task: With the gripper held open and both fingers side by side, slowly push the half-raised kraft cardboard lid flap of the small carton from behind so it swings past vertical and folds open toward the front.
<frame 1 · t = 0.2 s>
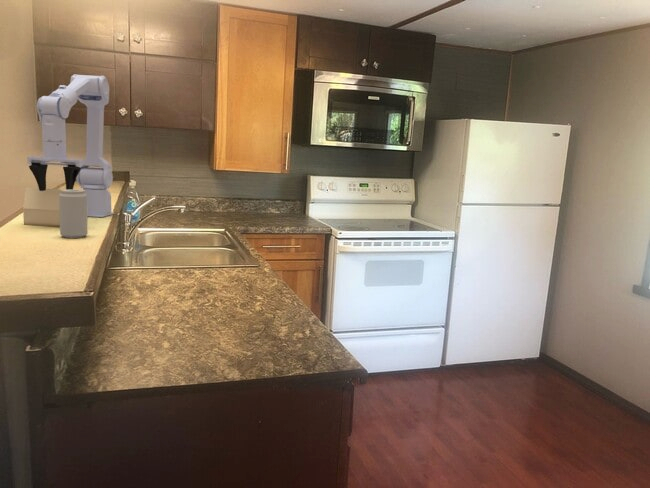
hand: (56, 191, 151), 10 cm above the countertop, fingers open, 7 cm apart
flap: (43, 199, 153), point 7 cm above the countertop, hinge at 72.0°
beverage can: (74, 237, 141), on the countertop
carton: (48, 224, 157), on the countertop
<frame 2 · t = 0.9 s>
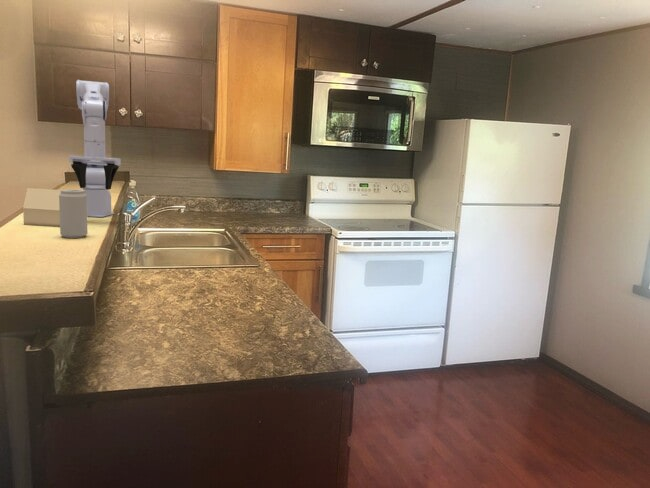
hand: (95, 188, 162), 10 cm above the countertop, fingers open, 7 cm apart
flap: (44, 199, 154), point 7 cm above the countertop, hinge at 65.3°
everything else where it was.
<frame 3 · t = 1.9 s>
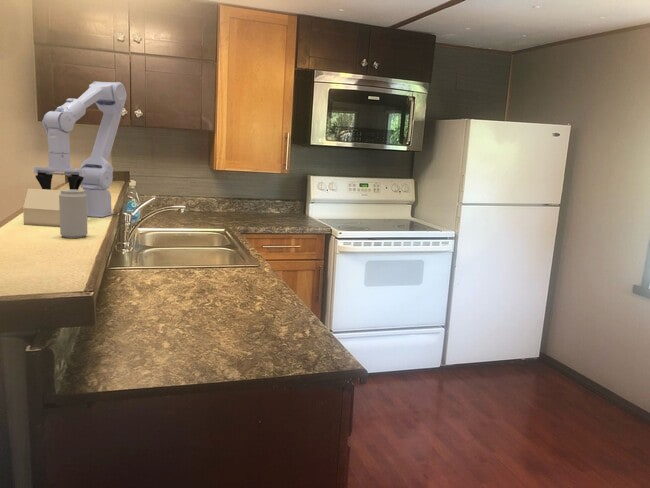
hand: (60, 199, 163), 7 cm above the countertop, fingers open, 7 cm apart
flap: (44, 199, 154), point 7 cm above the countertop, hinge at 62.1°
everything else where it was.
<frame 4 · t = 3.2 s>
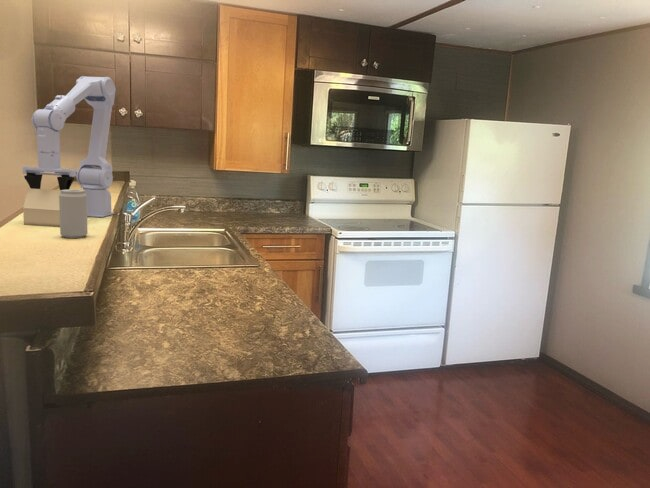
hand: (50, 200, 157), 7 cm above the countertop
flap: (44, 199, 154), point 7 cm above the countertop, hinge at 62.7°, touching gripper
everything else where it was.
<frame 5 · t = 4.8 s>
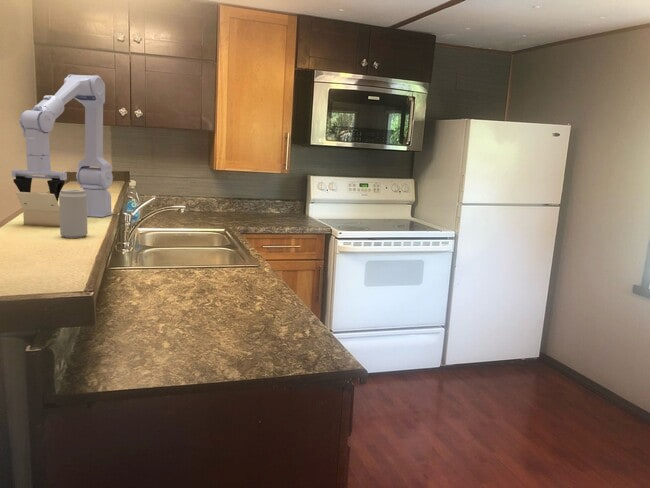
hand: (40, 204, 152), 6 cm above the countertop
flap: (38, 201, 151), point 7 cm above the countertop, hinge at 123.0°, touching gripper
everything else where it was.
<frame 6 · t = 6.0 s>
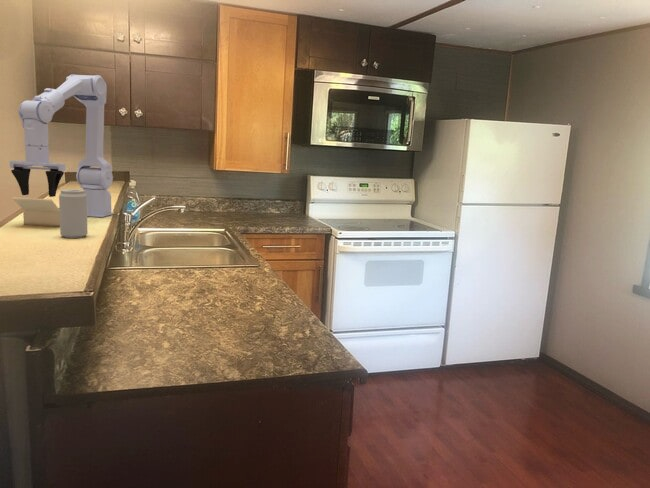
hand: (38, 195, 151), 9 cm above the countertop, fingers open, 7 cm apart
flap: (37, 204, 150), point 6 cm above the countertop, hinge at 142.5°
everything else where it was.
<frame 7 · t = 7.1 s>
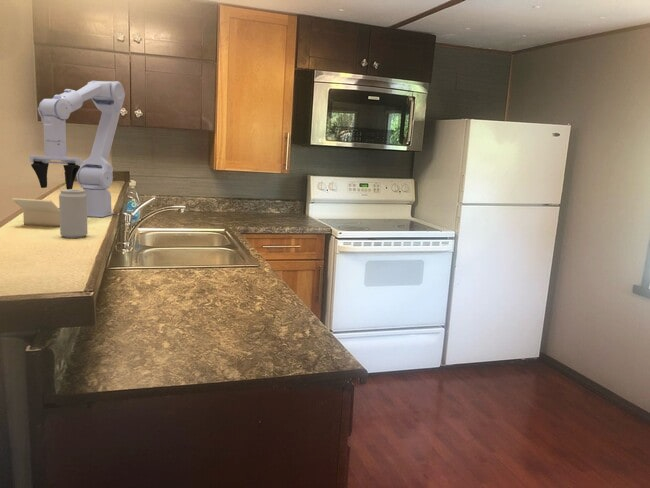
hand: (56, 188, 160), 10 cm above the countertop, fingers open, 7 cm apart
flap: (36, 205, 150), point 6 cm above the countertop, hinge at 145.4°
everything else where it was.
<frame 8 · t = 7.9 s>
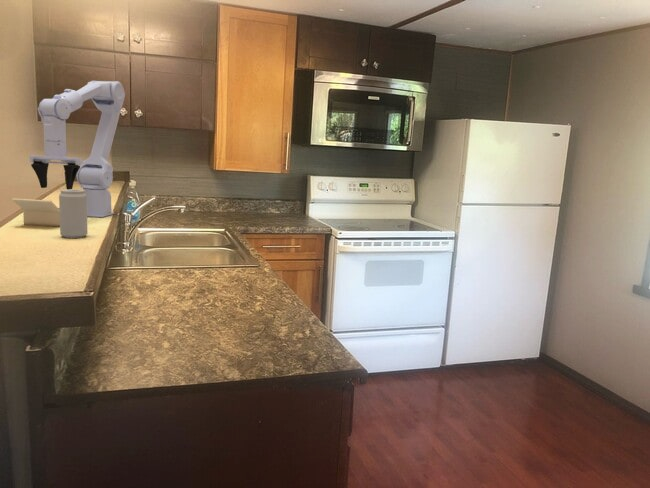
hand: (56, 188, 160), 10 cm above the countertop, fingers open, 7 cm apart
flap: (36, 205, 150), point 6 cm above the countertop, hinge at 145.8°
everything else where it was.
at the end: flap at +146° (first picture: +72°) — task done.
